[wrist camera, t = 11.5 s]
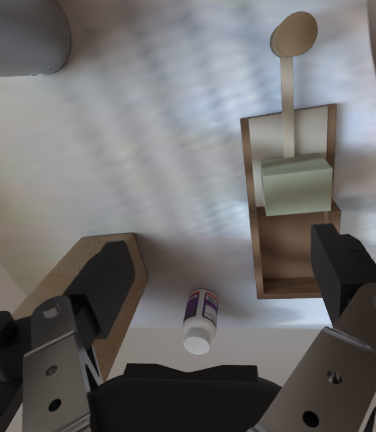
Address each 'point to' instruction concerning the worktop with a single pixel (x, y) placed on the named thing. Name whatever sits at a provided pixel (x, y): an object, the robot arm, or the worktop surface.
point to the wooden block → (65, 275)
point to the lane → (290, 223)
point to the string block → (289, 164)
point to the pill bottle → (200, 321)
